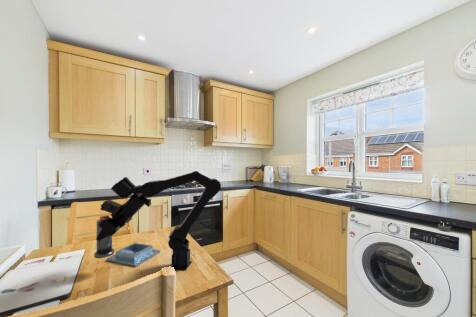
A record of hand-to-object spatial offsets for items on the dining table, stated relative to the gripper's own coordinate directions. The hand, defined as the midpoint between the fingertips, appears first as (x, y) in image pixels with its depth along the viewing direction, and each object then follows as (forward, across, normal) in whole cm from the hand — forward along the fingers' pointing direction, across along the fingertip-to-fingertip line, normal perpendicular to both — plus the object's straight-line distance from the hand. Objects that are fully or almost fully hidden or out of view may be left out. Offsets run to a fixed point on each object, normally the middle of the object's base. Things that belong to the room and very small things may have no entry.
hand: (100, 237), depth 79 cm
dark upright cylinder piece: (+4, 0, +6) cm, 7 cm away
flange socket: (+3, -12, +16) cm, 20 cm away
